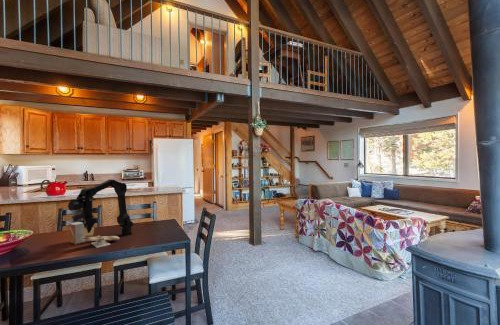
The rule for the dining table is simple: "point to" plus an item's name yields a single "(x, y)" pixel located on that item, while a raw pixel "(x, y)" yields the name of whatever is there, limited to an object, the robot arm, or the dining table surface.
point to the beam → (99, 238)
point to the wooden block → (87, 231)
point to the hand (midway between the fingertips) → (87, 231)
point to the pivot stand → (100, 243)
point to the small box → (76, 232)
